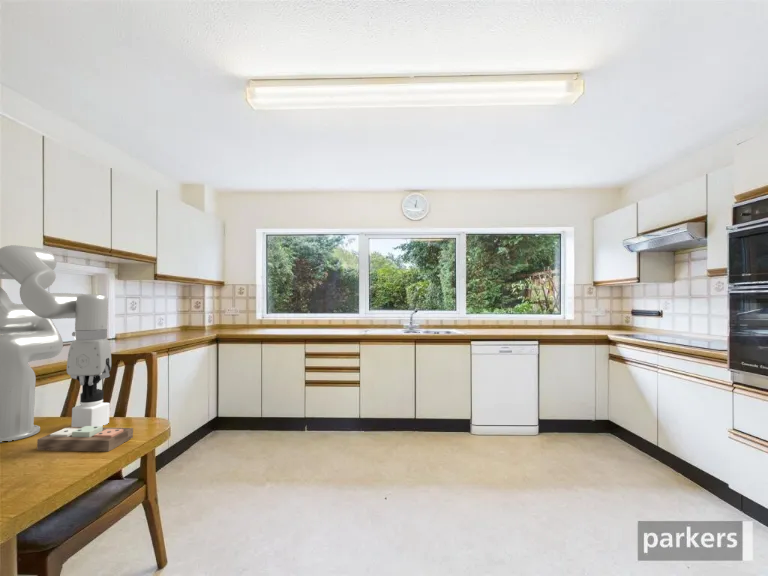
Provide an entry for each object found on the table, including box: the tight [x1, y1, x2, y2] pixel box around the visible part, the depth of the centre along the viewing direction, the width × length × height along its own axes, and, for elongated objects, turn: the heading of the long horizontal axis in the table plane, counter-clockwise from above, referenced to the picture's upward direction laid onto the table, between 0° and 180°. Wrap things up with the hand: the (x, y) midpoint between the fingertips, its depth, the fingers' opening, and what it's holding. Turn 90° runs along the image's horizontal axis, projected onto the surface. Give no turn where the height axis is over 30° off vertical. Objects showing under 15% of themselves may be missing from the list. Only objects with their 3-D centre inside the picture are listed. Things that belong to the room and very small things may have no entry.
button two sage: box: [72, 426, 104, 437], centre depth 108 cm, size 5×5×2 cm
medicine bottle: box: [71, 388, 111, 427], centre depth 122 cm, size 7×7×12 cm
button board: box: [36, 426, 134, 452], centre depth 108 cm, size 20×10×3 cm, turn 90°
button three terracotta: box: [94, 429, 124, 438], centre depth 108 cm, size 5×5×2 cm
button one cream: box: [49, 427, 80, 437], centre depth 108 cm, size 5×5×2 cm
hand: (89, 398), depth 108 cm, fingers closed
